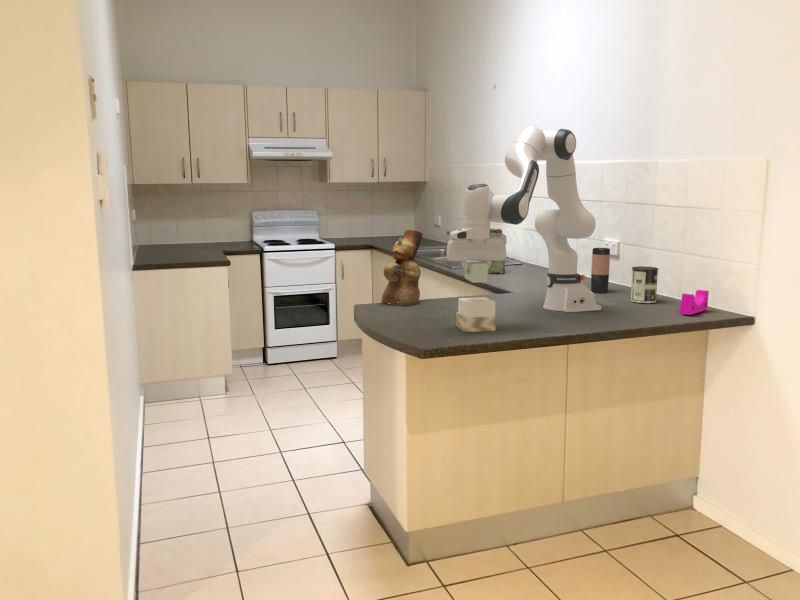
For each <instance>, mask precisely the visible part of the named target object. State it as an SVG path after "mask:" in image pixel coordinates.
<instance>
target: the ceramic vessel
mask: <svg viewBox="0 0 800 600" xmlns="http://www.w3.org/2000/svg"><path fill="white" fill-rule="evenodd" d="M422 238H423V232H422V231H419V230H415V229H406V230H404V232H403V236H402V237H398V240H397V241H396V242H394V245H393V247H392V256H393V257H392V258H393V260H392V261H390V262H389V263H387V264H385V266H384V267H383V276H384V278H385V279H386V280H387V281H388V283H387V285H386V287H385V288H384V291H383V293H382V294H381V304H382V305H385V304H384V303H391V305H390V306H394V307H410V306H415V305H417V304H418V303H419V301H420V297H421V291H420V287H419V281H420V278H421V268H420V266H419V265H418V263H416V262H415V260H416V259H415V258H416V256H417V253H418V250H419V249H420V245H421V243H422ZM397 302H399V303H397Z"/></svg>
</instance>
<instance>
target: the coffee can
mask: <svg viewBox="0 0 800 600" xmlns="http://www.w3.org/2000/svg"><path fill="white" fill-rule="evenodd" d="M631 270H632V271H631V287H630V289H631V290H630V302H633V303H638V304H639V303H640V304H653V303H657V291H658V274H659V273H658V272H659V268H658V267H655V266H645V265H644V266H632V267H631Z"/></svg>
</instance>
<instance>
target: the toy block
mask: <svg viewBox="0 0 800 600" xmlns="http://www.w3.org/2000/svg"><path fill="white" fill-rule="evenodd" d="M709 293H710V292H709V290H707V289H706V290H703V289H697V290H696V291H695V294H691V293H682V294H681V301H680V303H679V304H680V305H679V312H680V314H681V315H690V316H691V315H695V314H698V313H701V312H705V311H707V310H708V306H709V305H708V304H709ZM704 310H705V311H704Z"/></svg>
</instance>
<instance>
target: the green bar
mask: <svg viewBox="0 0 800 600" xmlns="http://www.w3.org/2000/svg"><path fill="white" fill-rule="evenodd" d="M465 266H466V268H467V269H470V271H469V272H470V273H469V274H464V279H465V280H468V281H469V282H471V283H488V278H489V277H488V275H489V274H488V264H486V263H485V261H484V262H483V261H467V262H466V264H465Z"/></svg>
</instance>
